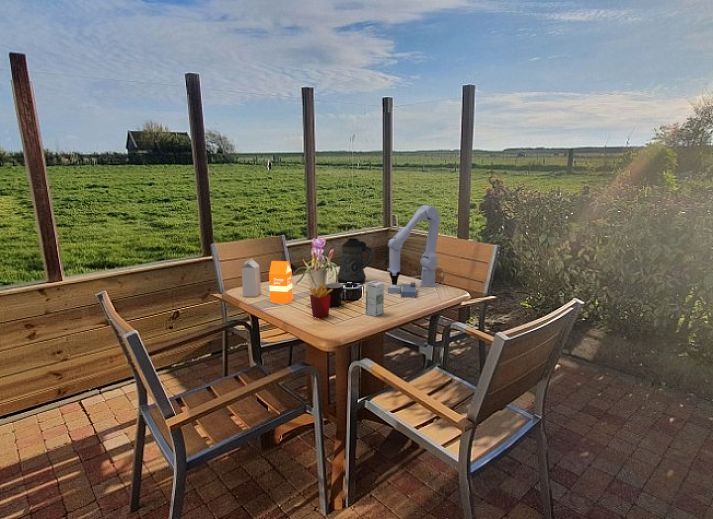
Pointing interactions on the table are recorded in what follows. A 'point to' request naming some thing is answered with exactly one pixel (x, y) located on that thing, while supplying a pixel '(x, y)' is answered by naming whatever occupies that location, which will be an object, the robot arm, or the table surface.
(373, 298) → the syrup box
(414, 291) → the network switch box
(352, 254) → the beer stein
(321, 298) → the french fries
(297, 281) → the table surface
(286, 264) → the orange juice
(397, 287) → the light blue box
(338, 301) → the coffee mug
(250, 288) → the milk carton
